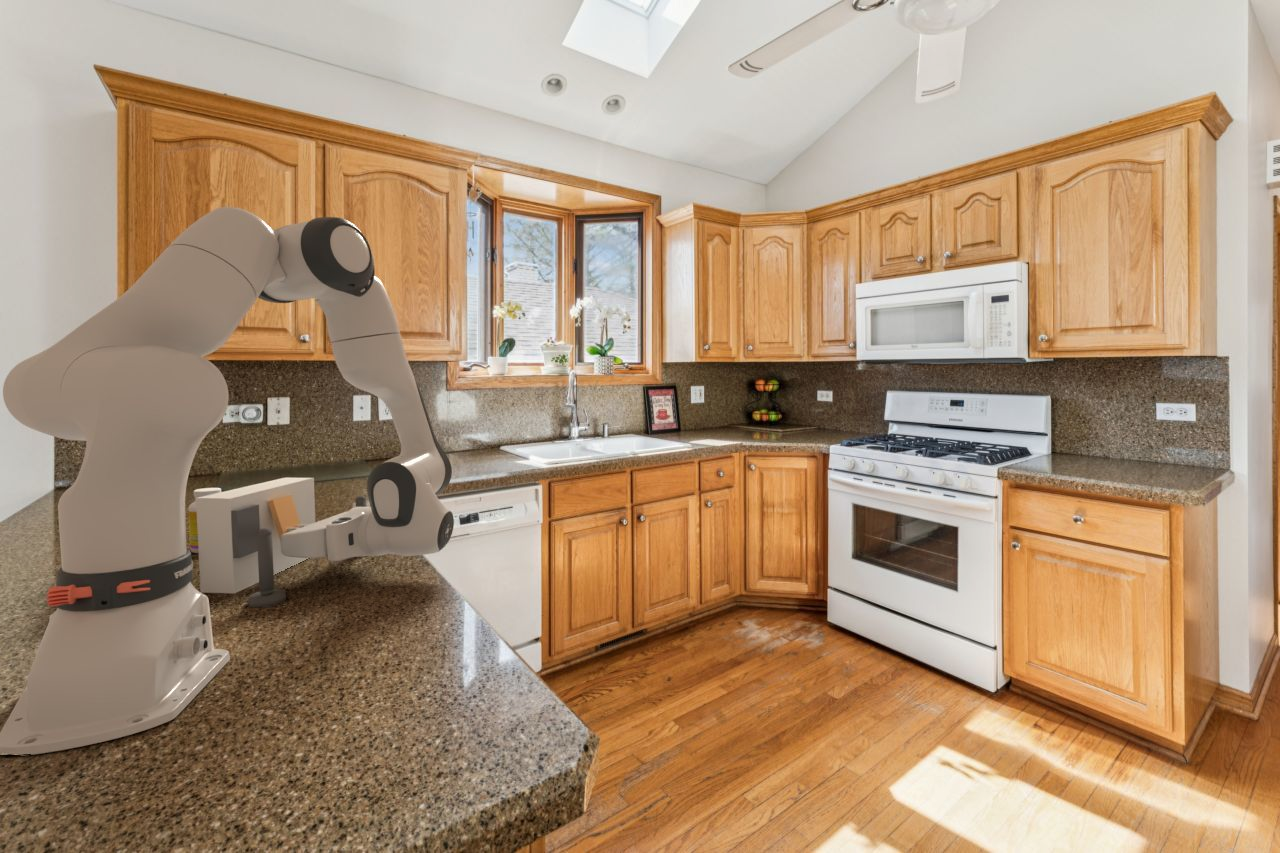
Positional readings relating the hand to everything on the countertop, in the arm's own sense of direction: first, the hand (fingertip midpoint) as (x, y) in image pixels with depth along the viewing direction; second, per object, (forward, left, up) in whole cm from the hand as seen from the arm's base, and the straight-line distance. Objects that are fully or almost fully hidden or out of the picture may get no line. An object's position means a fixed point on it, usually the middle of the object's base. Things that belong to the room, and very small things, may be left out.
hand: (291, 531), depth 108 cm
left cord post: (-15, +2, -8) cm, 17 cm away
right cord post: (+10, -12, -8) cm, 17 cm away
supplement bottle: (+25, +17, -8) cm, 32 cm away
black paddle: (-6, +6, -2) cm, 9 cm away
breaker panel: (+3, +5, -8) cm, 10 cm away
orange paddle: (0, 0, -2) cm, 2 cm away
